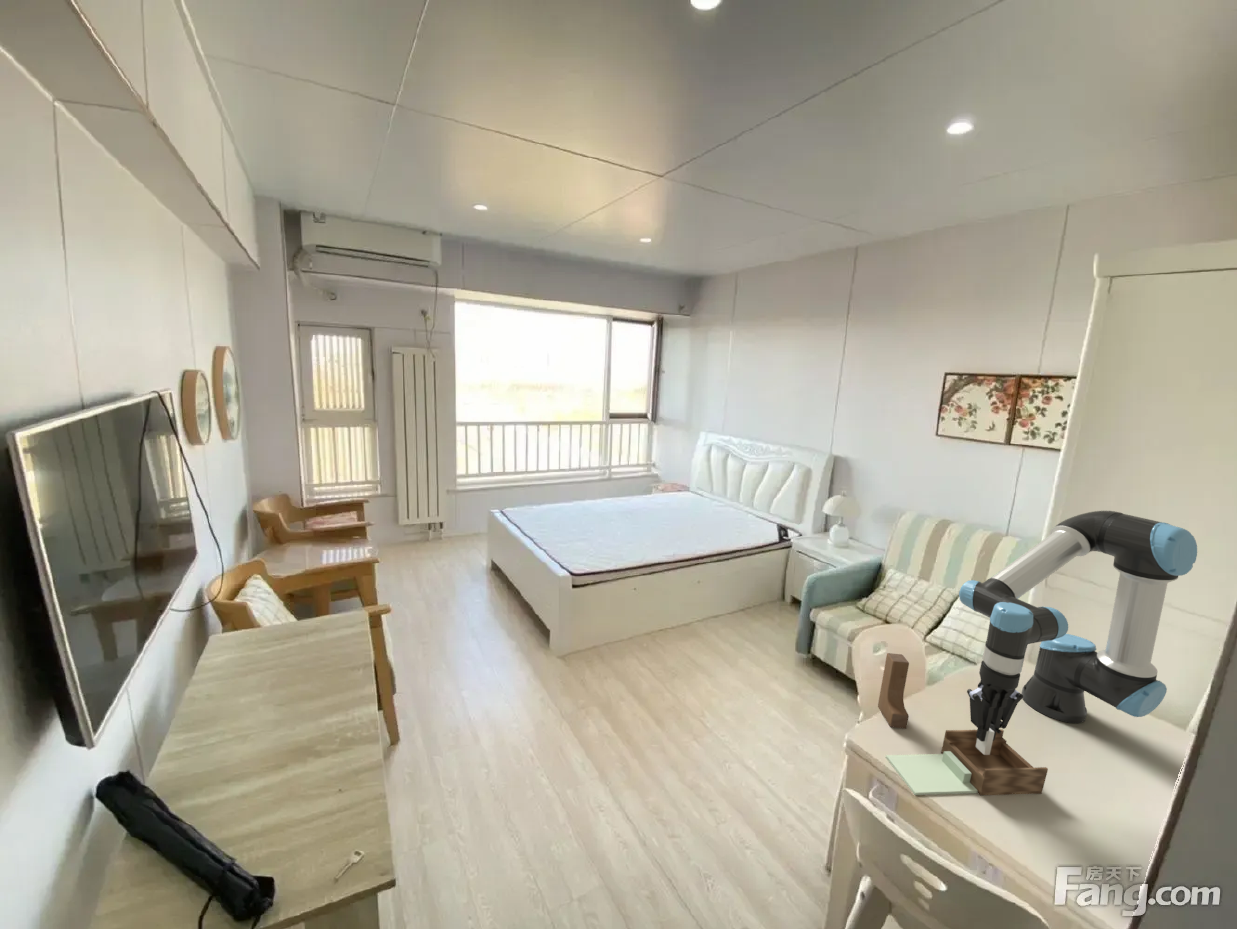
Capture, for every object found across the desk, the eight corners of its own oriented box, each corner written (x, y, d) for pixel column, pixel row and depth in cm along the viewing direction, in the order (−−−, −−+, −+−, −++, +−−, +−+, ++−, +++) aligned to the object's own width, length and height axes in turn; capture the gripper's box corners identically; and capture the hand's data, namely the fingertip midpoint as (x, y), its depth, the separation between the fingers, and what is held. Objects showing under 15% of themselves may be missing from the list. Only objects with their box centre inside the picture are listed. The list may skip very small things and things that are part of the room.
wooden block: (906, 729, 138) (917, 672, 135) (890, 727, 139) (900, 670, 135) (892, 708, 147) (902, 653, 144) (877, 706, 148) (886, 652, 144)
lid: (942, 757, 129) (945, 744, 129) (976, 795, 118) (980, 780, 118) (885, 759, 128) (887, 745, 127) (914, 797, 117) (917, 782, 116)
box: (997, 752, 132) (1002, 729, 130) (1041, 793, 119) (1048, 769, 118) (941, 753, 130) (945, 730, 129) (980, 795, 118) (985, 770, 116)
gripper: (1012, 657, 123) (994, 738, 127) (963, 657, 121) (947, 740, 126) (1040, 675, 115) (1019, 761, 120) (988, 676, 114) (969, 763, 119)
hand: (982, 750), depth 123 cm, fingers closed
